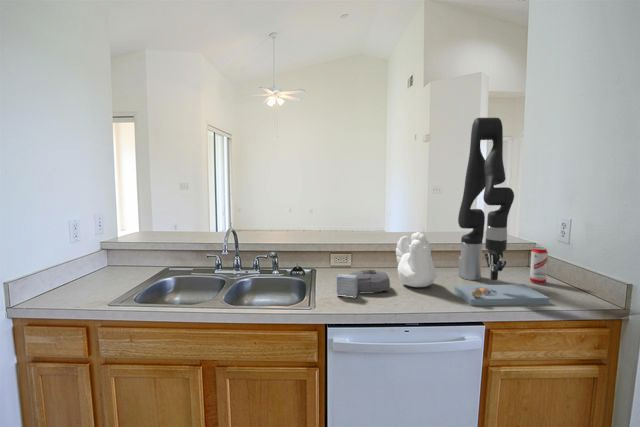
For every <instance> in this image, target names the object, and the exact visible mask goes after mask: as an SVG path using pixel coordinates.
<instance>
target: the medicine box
mask: <svg viewBox="0 0 640 427" xmlns="http://www.w3.org/2000/svg"><path fill="white" fill-rule="evenodd" d="M337 294H338V295H346V296H353V297H355V296H356V295H357V296H358V292H357V275H349V274H343V273H342V274H340V273H339V274H338V275H337V276H336V295H337ZM357 296H356V297H357Z"/></svg>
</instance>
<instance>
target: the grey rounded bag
mask: <svg viewBox="0 0 640 427" xmlns="http://www.w3.org/2000/svg"><path fill="white" fill-rule="evenodd" d="M348 275H357V293H358V292H381V293H383V292H382V291H386V292H389V291H390V288H391V287H390V286H391V282H390V278H389V276H388V274H387V273H386V272H384V271H379V270H375V269H374V270H373V269H366V270H357V271H353V272H351V273H349V274H348Z"/></svg>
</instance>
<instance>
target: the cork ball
mask: <svg viewBox="0 0 640 427" xmlns="http://www.w3.org/2000/svg"><path fill="white" fill-rule="evenodd" d="M472 295H473V296H474V297H475V298H479V297H481V295H482V292H481V290H480V289H473V290H472Z"/></svg>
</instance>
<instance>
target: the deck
mask: <svg viewBox="0 0 640 427" xmlns="http://www.w3.org/2000/svg"><path fill="white" fill-rule="evenodd" d="M453 288H454V290H453V291H455V294H456V295H458V296H459V297H460V298H461V299H463V301H465V302H466V303H467V304H468V305H470V306H515V305H516V306H525V305H528V306H529V305H550V297H549V296H547V295H544V293H542V292H540V291H538V290H536V289H534V288H532V287H531V286H529V285H526V284H525V283H524V284H480V285H479V284H477V285H476V284H475V285H472V284H471V285H465V284H464V285H463V284H462V285H454V287H453ZM480 288H485V289H486V290H487V291H488V294H482V295H481V297H479V298H475V297H474V296H473V295H472V290H473V289H480Z"/></svg>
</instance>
